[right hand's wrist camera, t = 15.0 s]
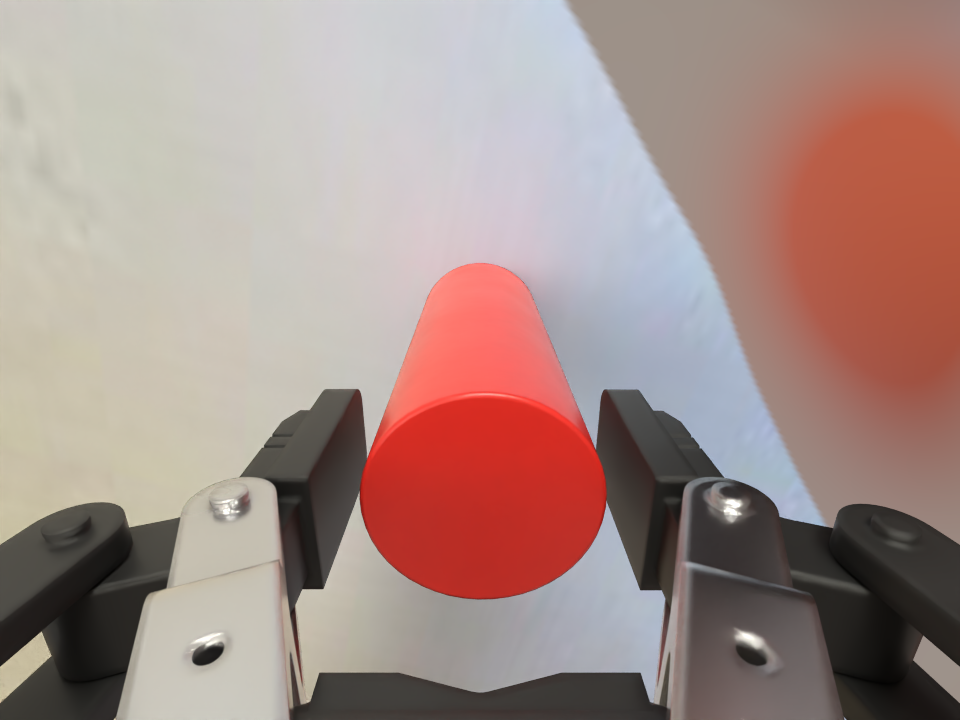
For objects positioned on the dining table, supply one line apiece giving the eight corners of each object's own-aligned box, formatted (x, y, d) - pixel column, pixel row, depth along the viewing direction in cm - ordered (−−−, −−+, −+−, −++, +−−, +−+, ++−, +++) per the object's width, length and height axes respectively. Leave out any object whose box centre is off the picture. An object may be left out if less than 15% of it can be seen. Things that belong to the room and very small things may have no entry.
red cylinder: (439, 381, 20) (397, 619, 10) (410, 276, 19) (324, 422, 8) (545, 359, 20) (621, 579, 9) (524, 251, 18) (589, 368, 8)
